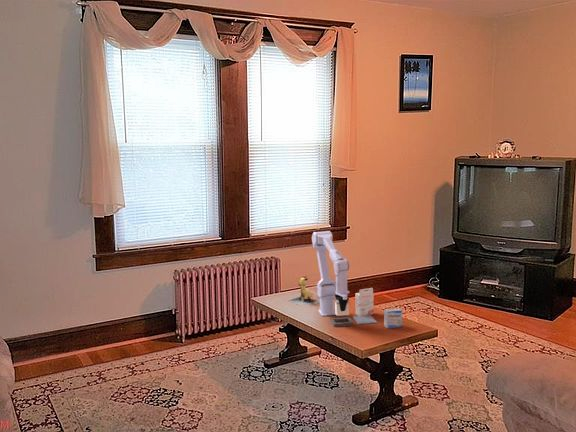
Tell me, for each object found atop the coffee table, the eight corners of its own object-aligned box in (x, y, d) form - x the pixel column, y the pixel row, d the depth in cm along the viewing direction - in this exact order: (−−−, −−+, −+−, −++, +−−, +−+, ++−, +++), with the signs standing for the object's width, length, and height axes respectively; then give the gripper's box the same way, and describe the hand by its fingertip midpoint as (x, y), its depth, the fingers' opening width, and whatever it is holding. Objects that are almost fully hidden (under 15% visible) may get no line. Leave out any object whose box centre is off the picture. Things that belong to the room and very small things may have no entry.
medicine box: (387, 328, 277) (387, 311, 276) (383, 325, 282) (383, 309, 280) (402, 327, 279) (402, 310, 277) (398, 324, 283) (398, 307, 282)
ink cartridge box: (369, 312, 303) (369, 285, 301) (373, 314, 298) (373, 287, 296) (355, 314, 300) (354, 287, 298) (359, 317, 295) (359, 289, 293)
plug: (335, 313, 287) (334, 300, 286) (346, 312, 288) (346, 299, 287) (336, 315, 283) (336, 302, 282) (348, 314, 284) (348, 301, 283)
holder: (330, 321, 289) (330, 318, 289) (349, 320, 291) (349, 317, 291) (334, 326, 282) (334, 323, 281) (353, 325, 283) (353, 322, 283)
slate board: (352, 317, 295) (352, 316, 295) (370, 316, 296) (370, 315, 296) (358, 324, 284) (358, 323, 284) (376, 323, 285) (376, 321, 285)
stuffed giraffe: (287, 301, 326) (288, 274, 324) (310, 296, 337) (311, 270, 335) (305, 308, 314) (306, 280, 311) (329, 302, 325) (330, 276, 323)
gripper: (353, 286, 277) (353, 313, 279) (345, 279, 291) (345, 304, 293) (339, 287, 276) (339, 314, 278) (332, 280, 290) (332, 305, 292)
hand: (341, 309), depth 285 cm, fingers closed on plug, 4 cm apart
